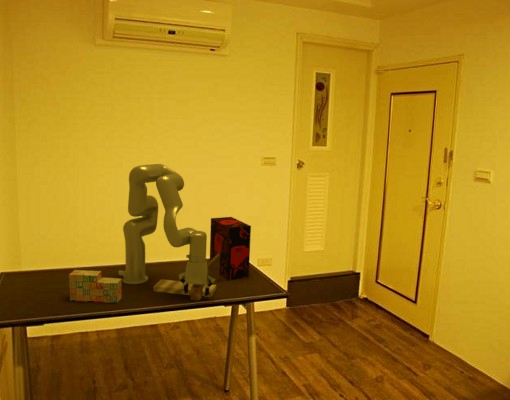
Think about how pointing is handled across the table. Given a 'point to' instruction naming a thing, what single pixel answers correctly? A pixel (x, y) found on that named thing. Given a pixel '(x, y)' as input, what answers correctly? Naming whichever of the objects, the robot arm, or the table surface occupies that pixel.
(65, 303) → the table surface
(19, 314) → the table surface
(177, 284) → the board
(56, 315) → the table surface
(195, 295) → the gauge
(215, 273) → the brown angled bracket
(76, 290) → the stack of blocks
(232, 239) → the box
